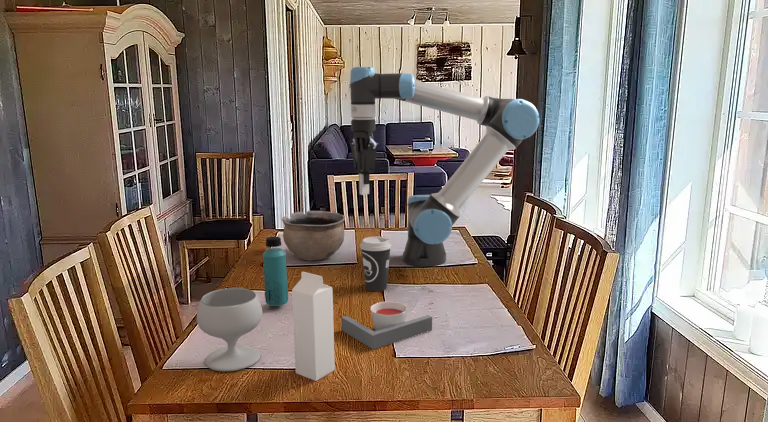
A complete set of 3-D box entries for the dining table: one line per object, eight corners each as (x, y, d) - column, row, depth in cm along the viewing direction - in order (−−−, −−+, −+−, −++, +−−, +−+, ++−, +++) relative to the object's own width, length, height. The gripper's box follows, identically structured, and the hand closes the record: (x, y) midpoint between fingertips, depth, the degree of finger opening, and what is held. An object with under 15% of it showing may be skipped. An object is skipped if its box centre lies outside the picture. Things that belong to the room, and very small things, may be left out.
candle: (380, 342, 138) (380, 317, 137) (364, 328, 146) (364, 305, 145) (413, 335, 142) (413, 310, 141) (396, 322, 150) (396, 299, 149)
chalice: (208, 347, 136) (203, 286, 133) (268, 345, 137) (265, 284, 134) (193, 376, 123) (187, 309, 119) (260, 373, 124) (256, 307, 120)
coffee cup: (388, 294, 170) (388, 244, 167) (357, 292, 172) (356, 243, 169) (394, 283, 179) (394, 236, 176) (364, 281, 181) (363, 235, 178)
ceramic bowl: (313, 246, 222) (312, 207, 219) (358, 255, 209) (357, 214, 206) (271, 260, 204) (268, 218, 201) (316, 271, 192) (315, 227, 189)
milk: (314, 363, 128) (311, 267, 124) (335, 370, 125) (332, 272, 120) (295, 373, 123) (290, 274, 119) (315, 381, 120) (312, 280, 115)
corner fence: (398, 313, 155) (398, 301, 155) (432, 330, 145) (432, 317, 144) (341, 330, 145) (341, 317, 144) (373, 349, 134) (372, 335, 134)
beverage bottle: (293, 304, 163) (290, 235, 158) (281, 312, 157) (278, 241, 152) (272, 301, 165) (269, 233, 161) (260, 310, 159) (256, 239, 154)
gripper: (341, 118, 181) (343, 192, 186) (365, 119, 171) (366, 198, 176) (361, 117, 185) (362, 189, 190) (385, 118, 175) (386, 195, 180)
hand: (364, 193), depth 183 cm, fingers closed
